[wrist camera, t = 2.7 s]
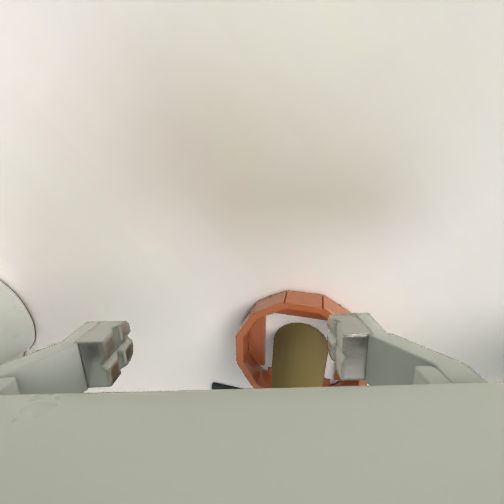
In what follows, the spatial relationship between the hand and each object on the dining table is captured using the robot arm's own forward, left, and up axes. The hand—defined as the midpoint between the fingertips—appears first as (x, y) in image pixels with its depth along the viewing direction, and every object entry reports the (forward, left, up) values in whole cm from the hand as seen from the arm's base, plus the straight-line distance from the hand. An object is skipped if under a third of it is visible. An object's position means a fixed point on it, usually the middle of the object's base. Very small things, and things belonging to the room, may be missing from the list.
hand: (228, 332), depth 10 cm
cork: (+3, -13, -16) cm, 21 cm away
